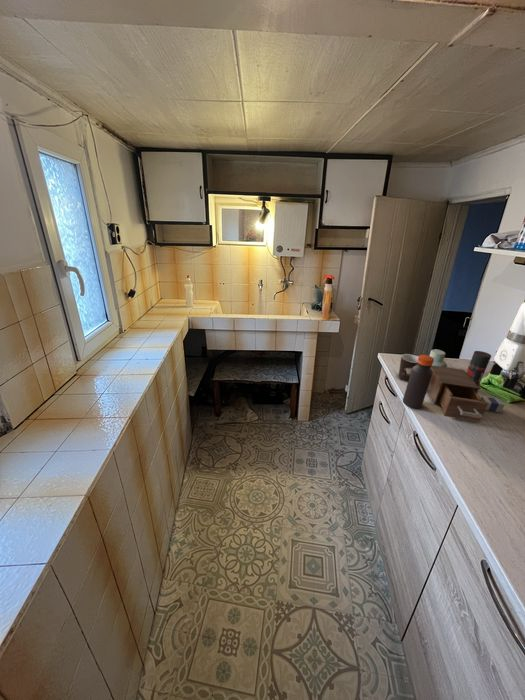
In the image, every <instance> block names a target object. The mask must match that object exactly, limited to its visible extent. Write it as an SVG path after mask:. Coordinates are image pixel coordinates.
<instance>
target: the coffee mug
mask: <svg viewBox="0 0 525 700" xmlns="http://www.w3.org/2000/svg"><path fill="white" fill-rule="evenodd" d="M418 357H419V355H418V356H417V355H415V354H411V353H403V354H401V356H400V363H399V369H398V379H400V380H401V381H404V382H407V383H408V381H409V377H410V374H411V371H412V368H413V366H415V365H417V364H418V363H417V361H418Z"/></svg>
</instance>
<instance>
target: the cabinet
mask: <svg viewBox="0 0 525 700" xmlns="http://www.w3.org/2000/svg"><path fill="white" fill-rule="evenodd" d="M430 368H431V370H432V371H433V374H432V377H431V380H430V383H429V386H428V389H427V392H428V395H429V397H430V399H431V400H432V402H433V404H434V405H440V406H441V404H440V403H439V401H438V398H439V396H440V393H441V390H442V387H443V385H449V386H456V387H462V388H469V389H474V390H475V391H476V393H477V394H479V390H480V387H479V386H477V385H476V383H475V382H474V381H473V380H472V379H471V378H470V376H469V375H468V374H467V373H466V372H467V371H466V370H465V369H460V368H454V367H447V368H446V367H439V366H431V367H430Z"/></svg>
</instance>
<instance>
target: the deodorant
mask: <svg viewBox="0 0 525 700" xmlns="http://www.w3.org/2000/svg"><path fill="white" fill-rule="evenodd" d="M491 358H492V355H491V354H490V353H488V352H485V351H481V350H474V351H473V354H472V357H471V359H470V362H469V364H468V367H467V370H466V371H465V372H466V373H467V374H468V375H469V376H470V378H471V379H472V380H473V381H474V382H475V383H476V385H477V386H478V387H479V386H480V384H481V382H482V379H483V377H484V374H485V372H486V370H487V368H488V365H489V362H490V360H491Z"/></svg>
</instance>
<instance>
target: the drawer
mask: <svg viewBox="0 0 525 700" xmlns="http://www.w3.org/2000/svg"><path fill="white" fill-rule="evenodd" d="M438 401H439V403H440V404H441V405H440V406H441V408H442V410H443V413H442V415H443V416H444V417H448V418H455V419H460V420H465V421H467V420H468V421H473V422H479V423H480V422H481V420H482V418H483V416H484V413H485V412H486V410H485V409H486V407H487V405H488V403H487V402H485V401H482V399H481V396H480V395H479V393H476V391H475V390H474V389H469V388H462V387H456V386H449V385H443V387H442V390H441V393H440V396H439V398H438Z"/></svg>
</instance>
